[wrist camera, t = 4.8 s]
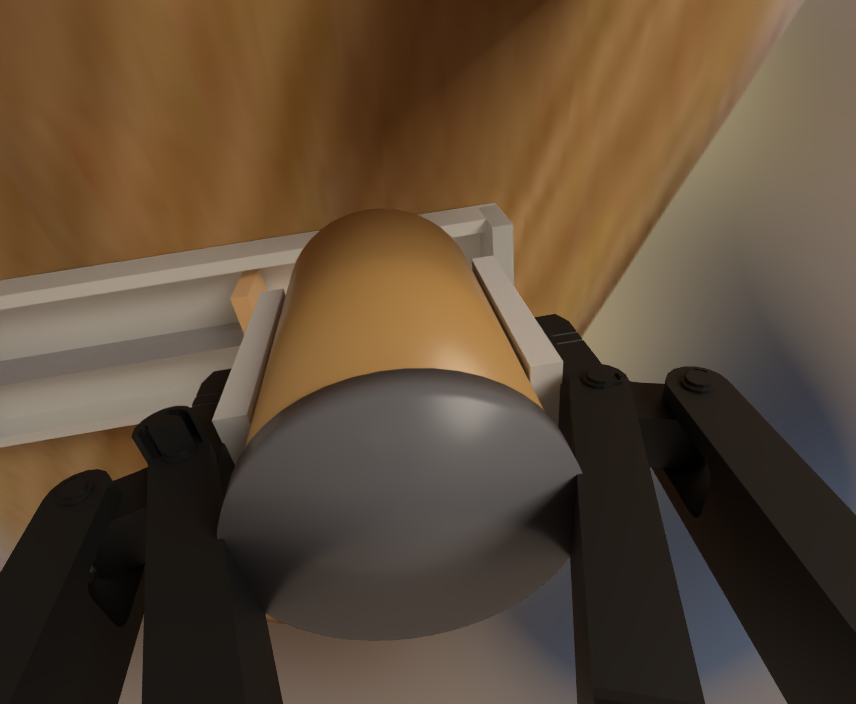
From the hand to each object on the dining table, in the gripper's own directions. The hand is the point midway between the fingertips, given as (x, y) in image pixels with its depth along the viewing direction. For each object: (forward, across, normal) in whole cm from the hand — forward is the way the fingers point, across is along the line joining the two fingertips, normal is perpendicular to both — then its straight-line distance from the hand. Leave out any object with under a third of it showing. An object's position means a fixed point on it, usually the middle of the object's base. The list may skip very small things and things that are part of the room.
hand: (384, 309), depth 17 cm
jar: (0, 0, 0) cm, 0 cm away
